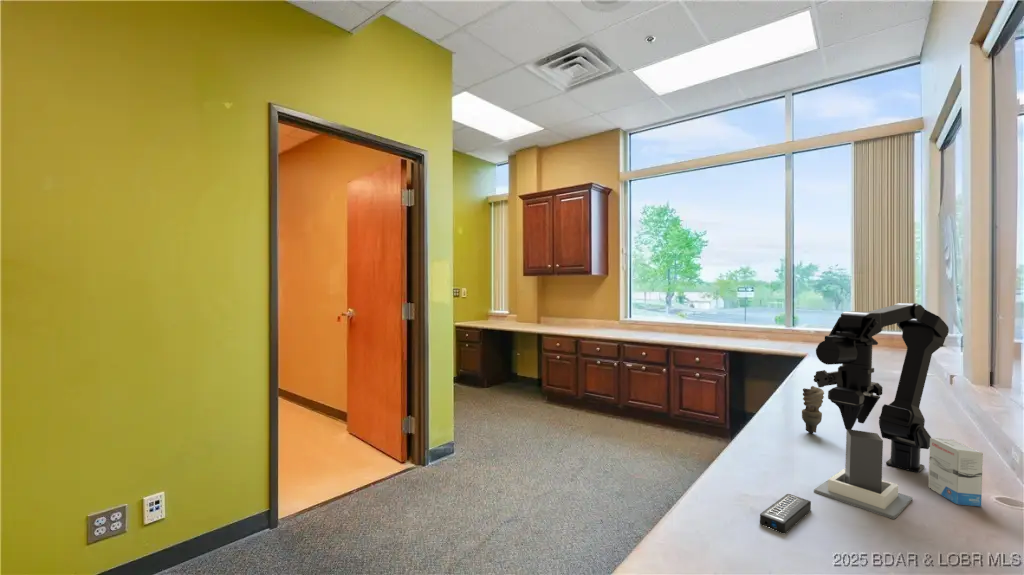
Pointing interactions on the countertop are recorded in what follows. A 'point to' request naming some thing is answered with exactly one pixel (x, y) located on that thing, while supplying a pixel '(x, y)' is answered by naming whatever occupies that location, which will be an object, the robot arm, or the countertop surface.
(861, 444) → the plug
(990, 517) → the countertop surface
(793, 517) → the multiport hub
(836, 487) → the socket board
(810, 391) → the light bulb
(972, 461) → the ink box
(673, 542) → the countertop surface
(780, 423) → the countertop surface
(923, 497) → the countertop surface
